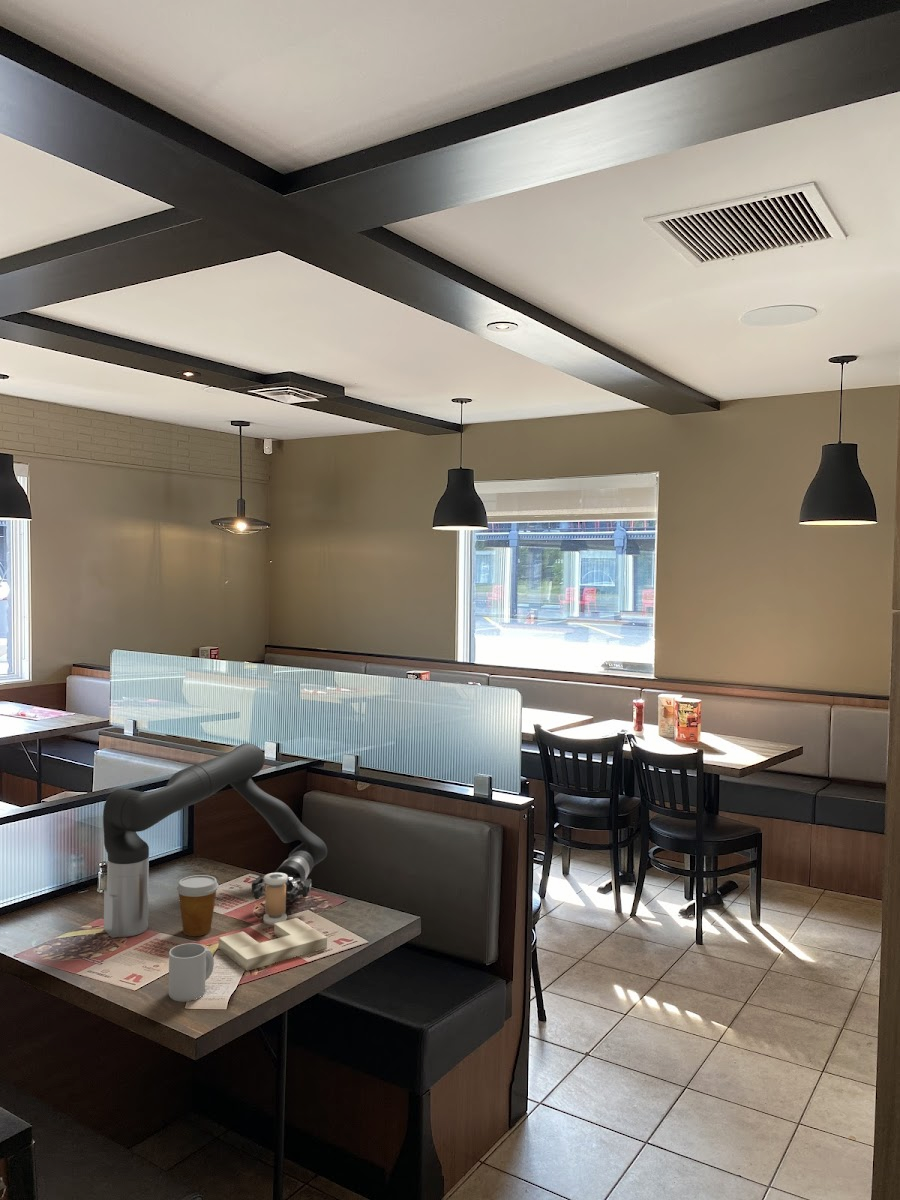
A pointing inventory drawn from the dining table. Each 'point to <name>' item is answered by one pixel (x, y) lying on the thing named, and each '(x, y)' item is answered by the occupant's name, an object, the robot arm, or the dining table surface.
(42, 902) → the dining table surface
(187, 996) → the cup
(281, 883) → the bobbin
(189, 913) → the disposable coffee cup
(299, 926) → the notched board
